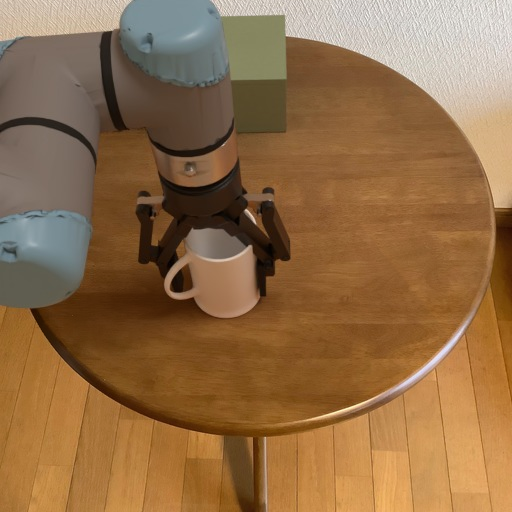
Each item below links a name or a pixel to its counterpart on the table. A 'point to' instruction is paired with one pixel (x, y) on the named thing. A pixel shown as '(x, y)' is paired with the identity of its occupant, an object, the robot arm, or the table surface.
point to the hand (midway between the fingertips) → (221, 287)
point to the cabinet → (257, 71)
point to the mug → (218, 273)
